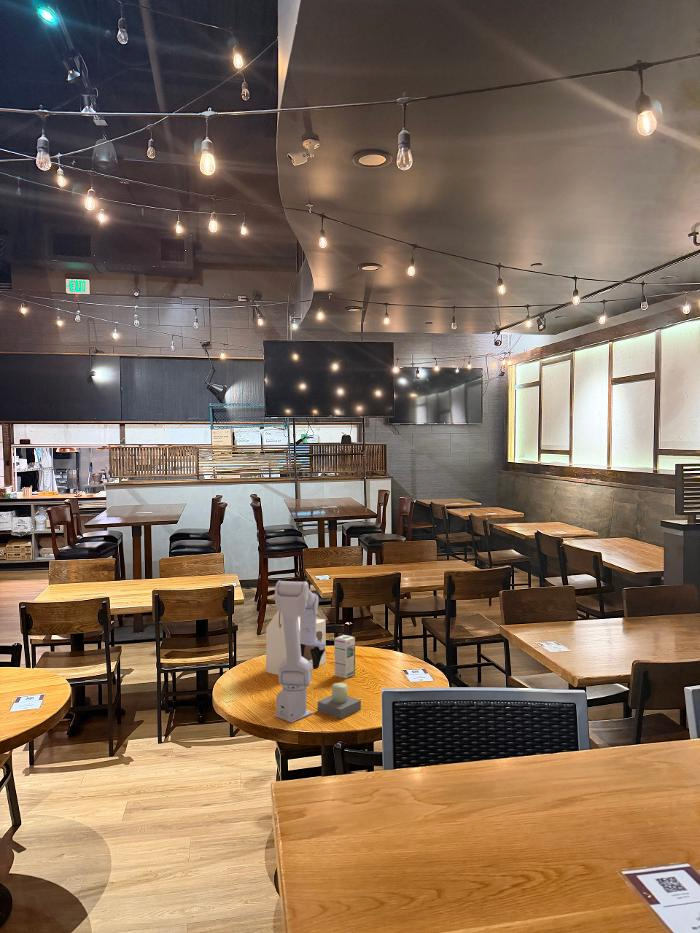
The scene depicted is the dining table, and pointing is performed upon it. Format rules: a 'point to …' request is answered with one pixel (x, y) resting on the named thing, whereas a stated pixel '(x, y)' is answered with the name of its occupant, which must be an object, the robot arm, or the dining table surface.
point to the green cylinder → (339, 693)
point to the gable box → (277, 642)
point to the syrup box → (344, 656)
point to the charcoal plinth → (339, 707)
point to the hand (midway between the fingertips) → (308, 665)
